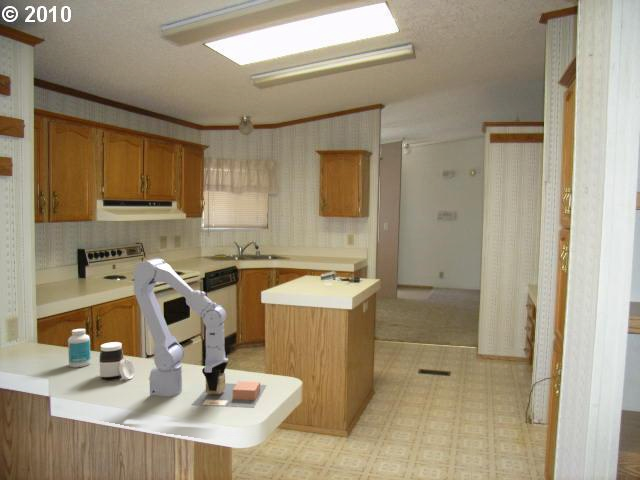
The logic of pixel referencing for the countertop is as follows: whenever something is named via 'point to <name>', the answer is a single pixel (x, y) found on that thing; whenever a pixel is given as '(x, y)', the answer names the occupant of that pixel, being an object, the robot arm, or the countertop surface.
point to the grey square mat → (227, 398)
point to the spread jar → (114, 363)
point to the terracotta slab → (246, 390)
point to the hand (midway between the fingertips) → (215, 387)
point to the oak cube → (219, 386)
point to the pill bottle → (79, 348)
